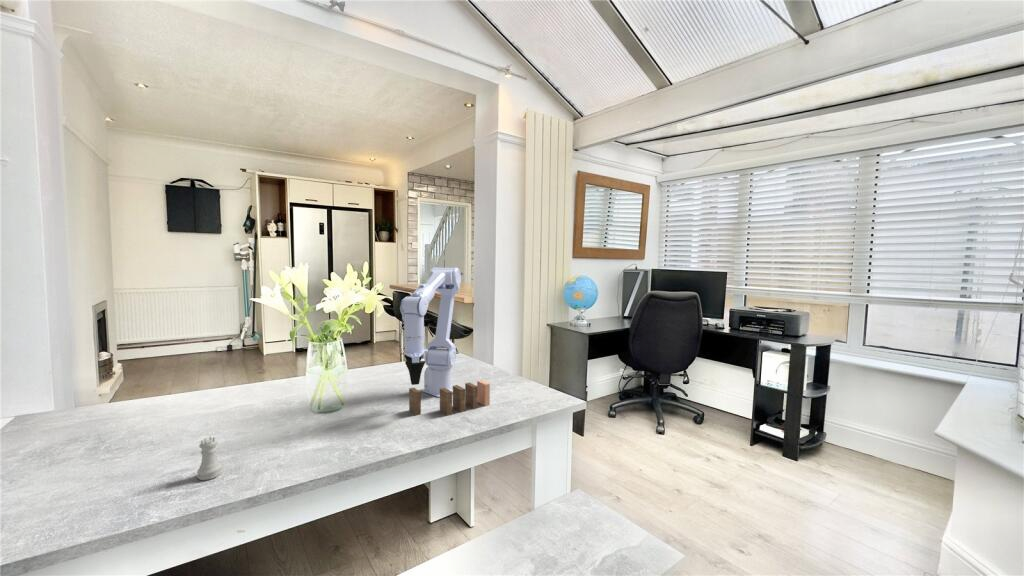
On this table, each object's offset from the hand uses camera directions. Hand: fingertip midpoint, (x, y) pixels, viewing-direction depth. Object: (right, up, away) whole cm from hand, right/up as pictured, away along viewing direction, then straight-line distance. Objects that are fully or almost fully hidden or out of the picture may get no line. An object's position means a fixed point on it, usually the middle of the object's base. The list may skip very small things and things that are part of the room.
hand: (414, 380), depth 124 cm
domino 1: (0, -10, +1) cm, 10 cm away
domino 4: (+17, -10, +6) cm, 20 cm away
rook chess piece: (-35, -13, -36) cm, 52 cm away
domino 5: (+20, -10, +9) cm, 24 cm away
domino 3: (+13, -10, +4) cm, 17 cm away
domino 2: (+9, -10, +1) cm, 14 cm away
